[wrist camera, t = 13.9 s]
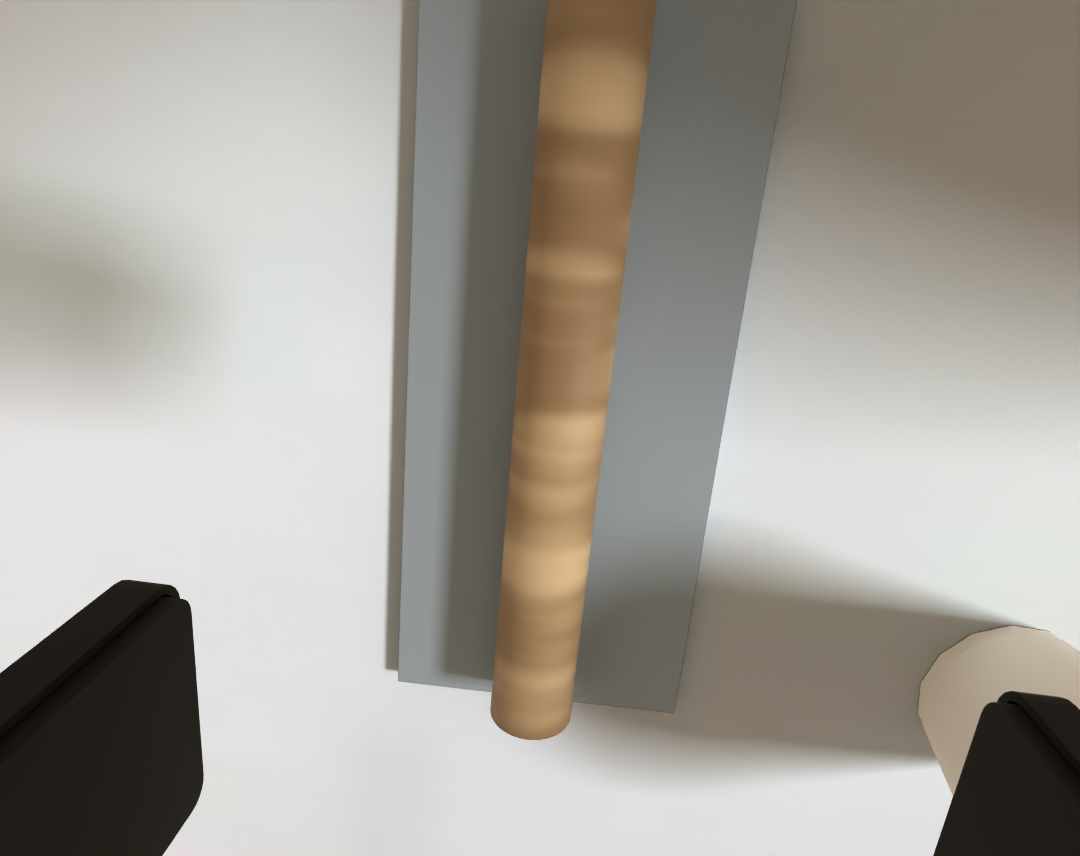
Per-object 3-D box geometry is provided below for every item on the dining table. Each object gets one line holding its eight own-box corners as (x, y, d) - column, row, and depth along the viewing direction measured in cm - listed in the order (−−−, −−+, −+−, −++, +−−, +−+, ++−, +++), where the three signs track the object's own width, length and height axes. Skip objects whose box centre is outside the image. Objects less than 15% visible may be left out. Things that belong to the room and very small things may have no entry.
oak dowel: (558, -5, 21) (540, -39, 18) (659, 0, 21) (657, -34, 18) (500, 678, 28) (481, 730, 26) (575, 693, 28) (564, 747, 25)
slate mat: (791, -1, 21) (797, -7, 21) (671, 703, 29) (673, 712, 28) (424, -30, 22) (420, -37, 21) (401, 671, 29) (397, 681, 29)
